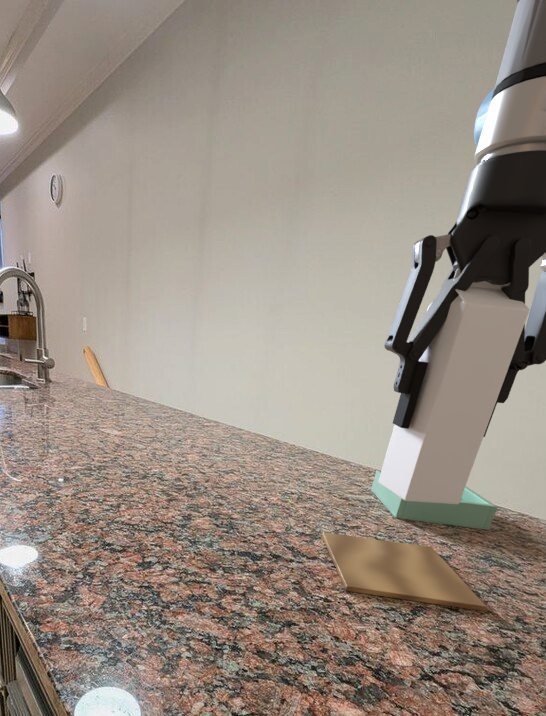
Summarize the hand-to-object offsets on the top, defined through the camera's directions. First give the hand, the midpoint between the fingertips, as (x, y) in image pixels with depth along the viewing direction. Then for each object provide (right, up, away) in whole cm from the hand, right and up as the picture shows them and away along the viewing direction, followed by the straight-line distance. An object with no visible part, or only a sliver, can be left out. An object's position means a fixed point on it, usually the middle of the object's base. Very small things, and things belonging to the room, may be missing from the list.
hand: (437, 429), depth 47 cm
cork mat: (-1, -15, +6) cm, 17 cm away
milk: (-1, -7, +3) cm, 7 cm away
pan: (+15, -8, +28) cm, 33 cm away
